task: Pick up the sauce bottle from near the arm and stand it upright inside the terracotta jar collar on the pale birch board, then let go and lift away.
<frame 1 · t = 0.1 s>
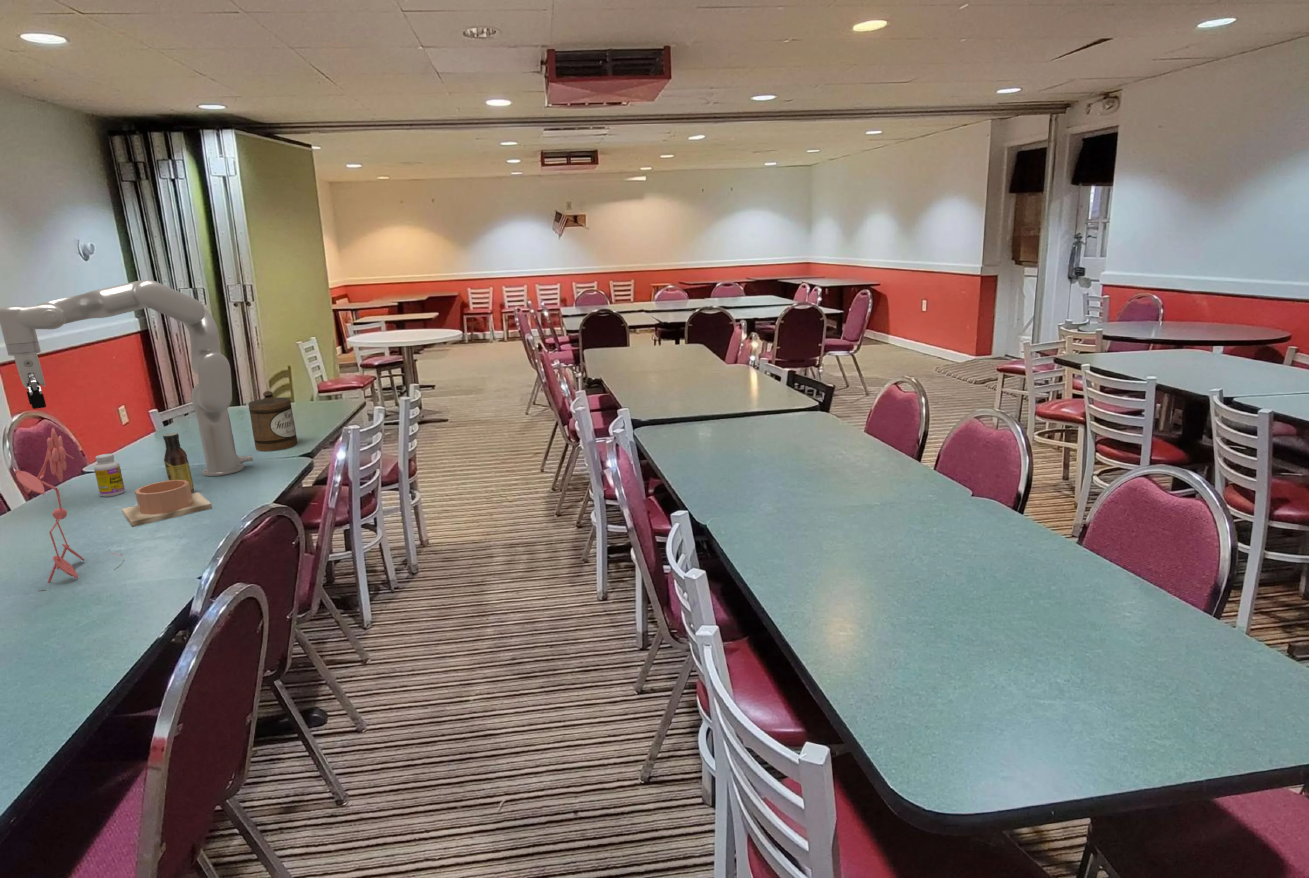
hand: (38, 405, 224), 31 cm above the table, tool pointing down, fingers open, 9 cm apart
birch board: (167, 510, 221), on the table
sauce bottle: (183, 494, 237), on the table
figurine: (87, 569, 181), on the table
supplement bottle: (113, 494, 240), on the table
jar collar: (164, 496, 220), on the birch board, point 4 cm above the table
wooden container: (277, 447, 292), on the table
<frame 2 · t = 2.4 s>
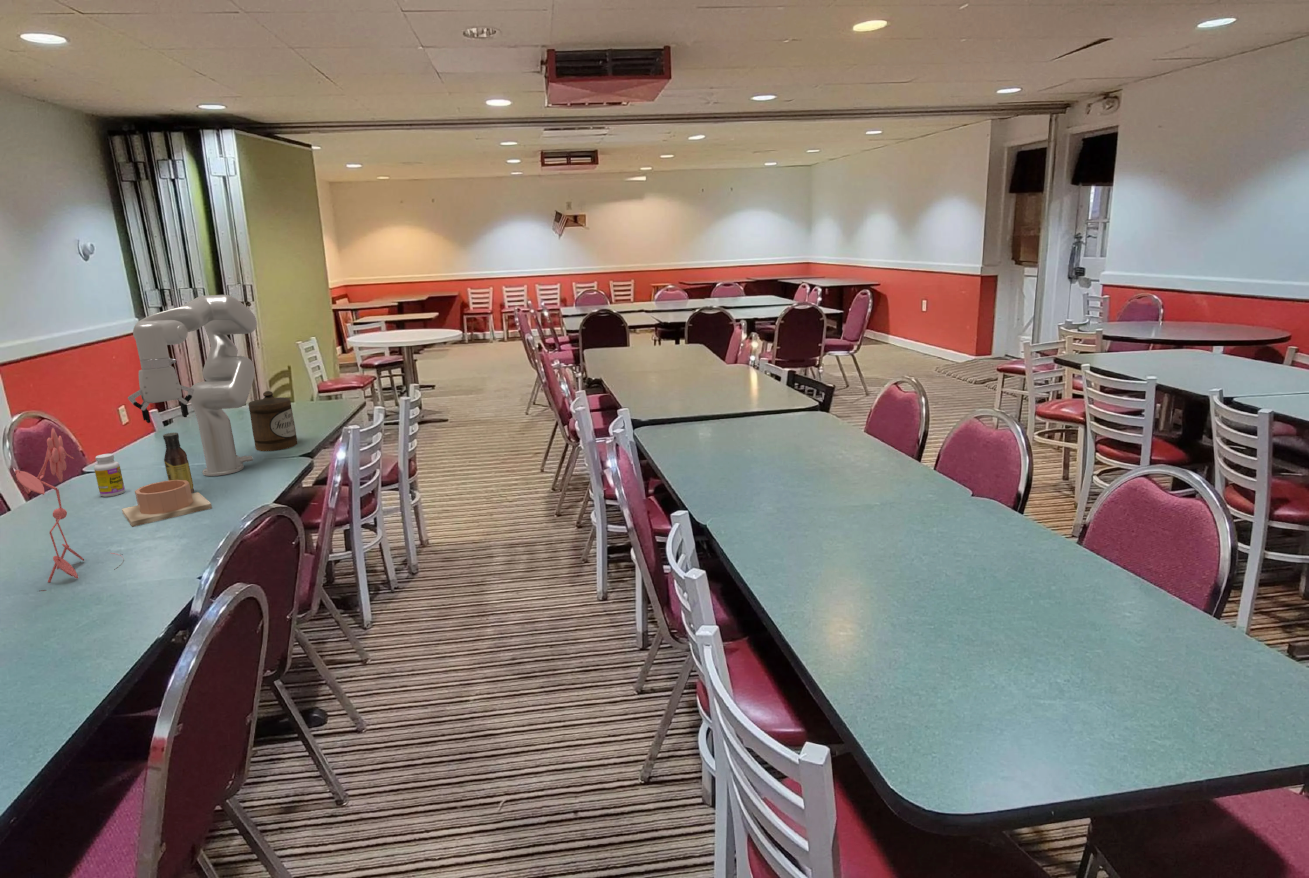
hand: (166, 419, 230), 24 cm above the table, tool pointing down, fingers open, 9 cm apart
nothing on the table moved.
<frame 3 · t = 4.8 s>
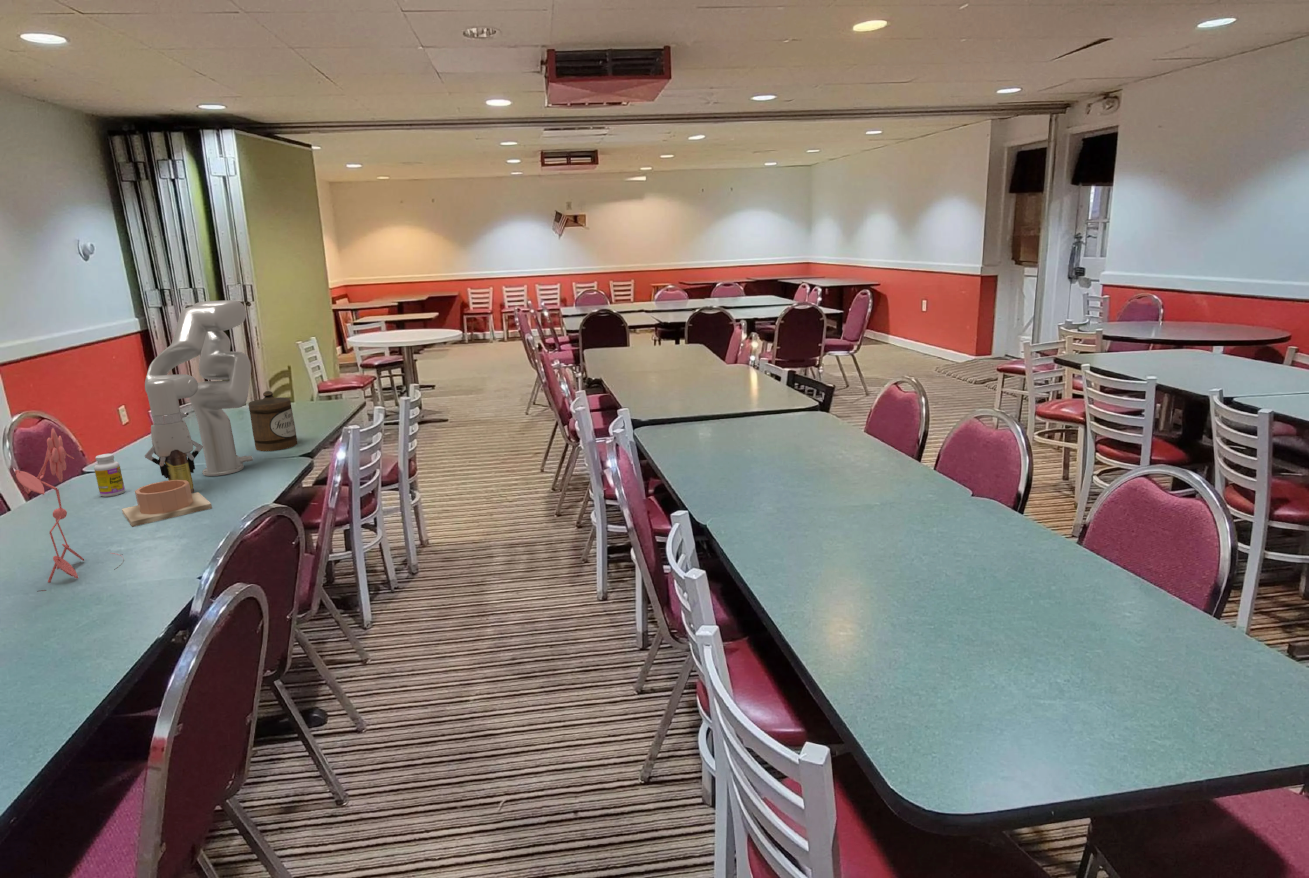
hand: (179, 474, 235), 7 cm above the table, tool pointing down, fingers closed on sauce bottle, 6 cm apart
sauce bottle: (183, 494, 237), on the table, touching gripper
everything else where it was.
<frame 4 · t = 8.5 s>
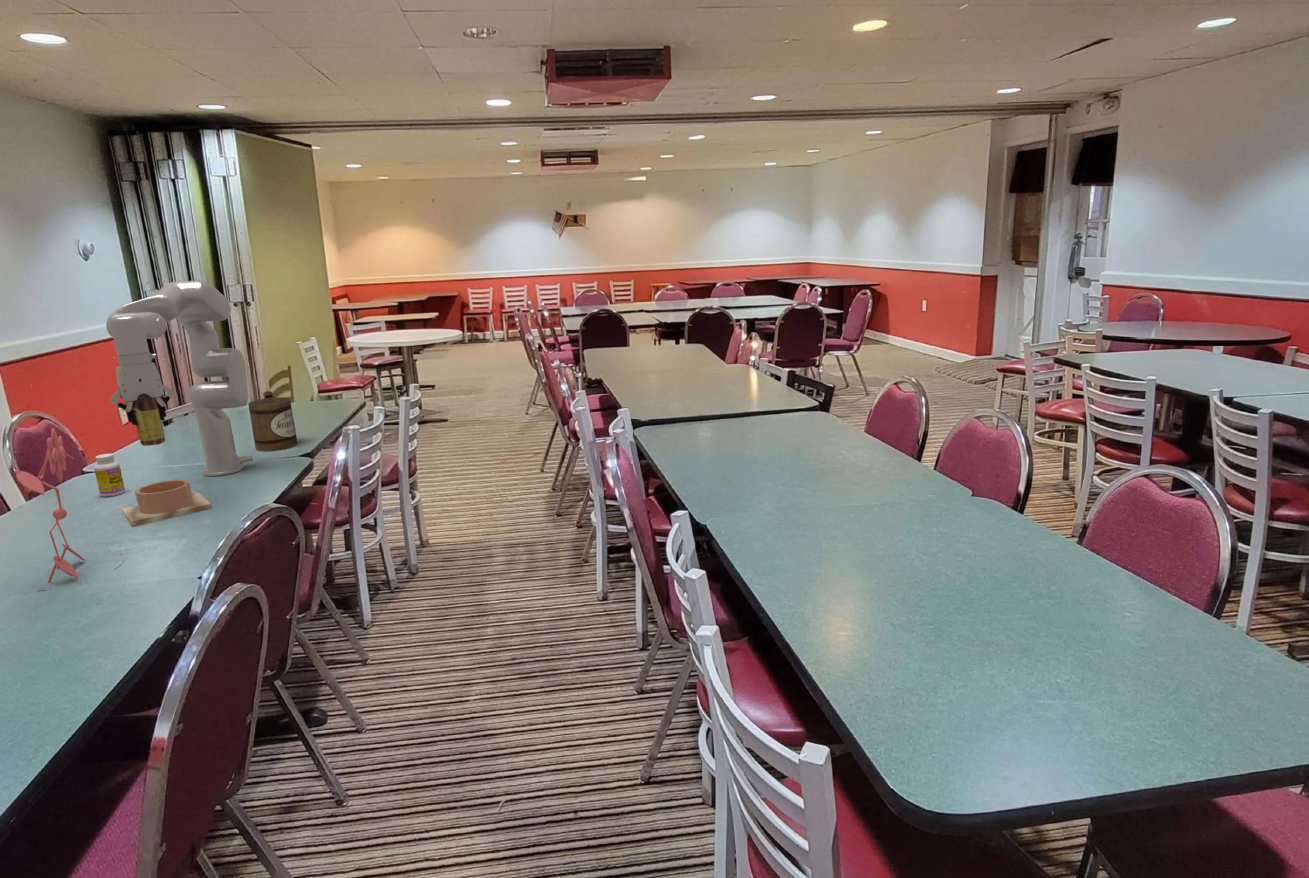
hand: (148, 421, 215), 27 cm above the table, tool pointing down, fingers closed on sauce bottle, 6 cm apart
sauce bottle: (153, 444, 216), point 20 cm above the table, touching gripper
everything else where it was.
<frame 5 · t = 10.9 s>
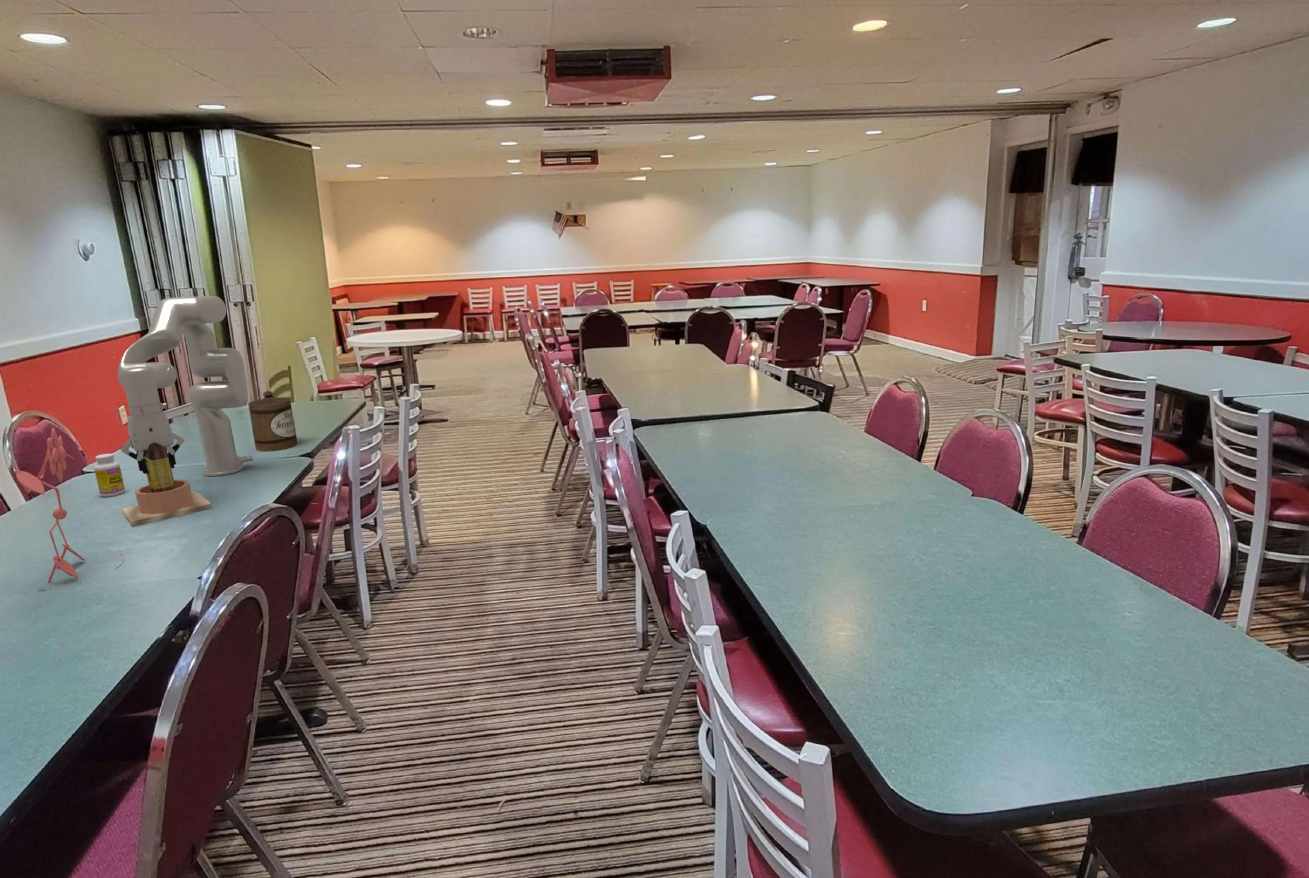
hand: (158, 469, 218), 13 cm above the table, tool pointing down, fingers closed on sauce bottle, 6 cm apart
sauce bottle: (163, 491, 220), point 6 cm above the table, touching gripper
everything else where it was.
when the fingers open (10 cm above the table, at t = 12.5 s): sauce bottle drops 2 cm, resting on birch board.
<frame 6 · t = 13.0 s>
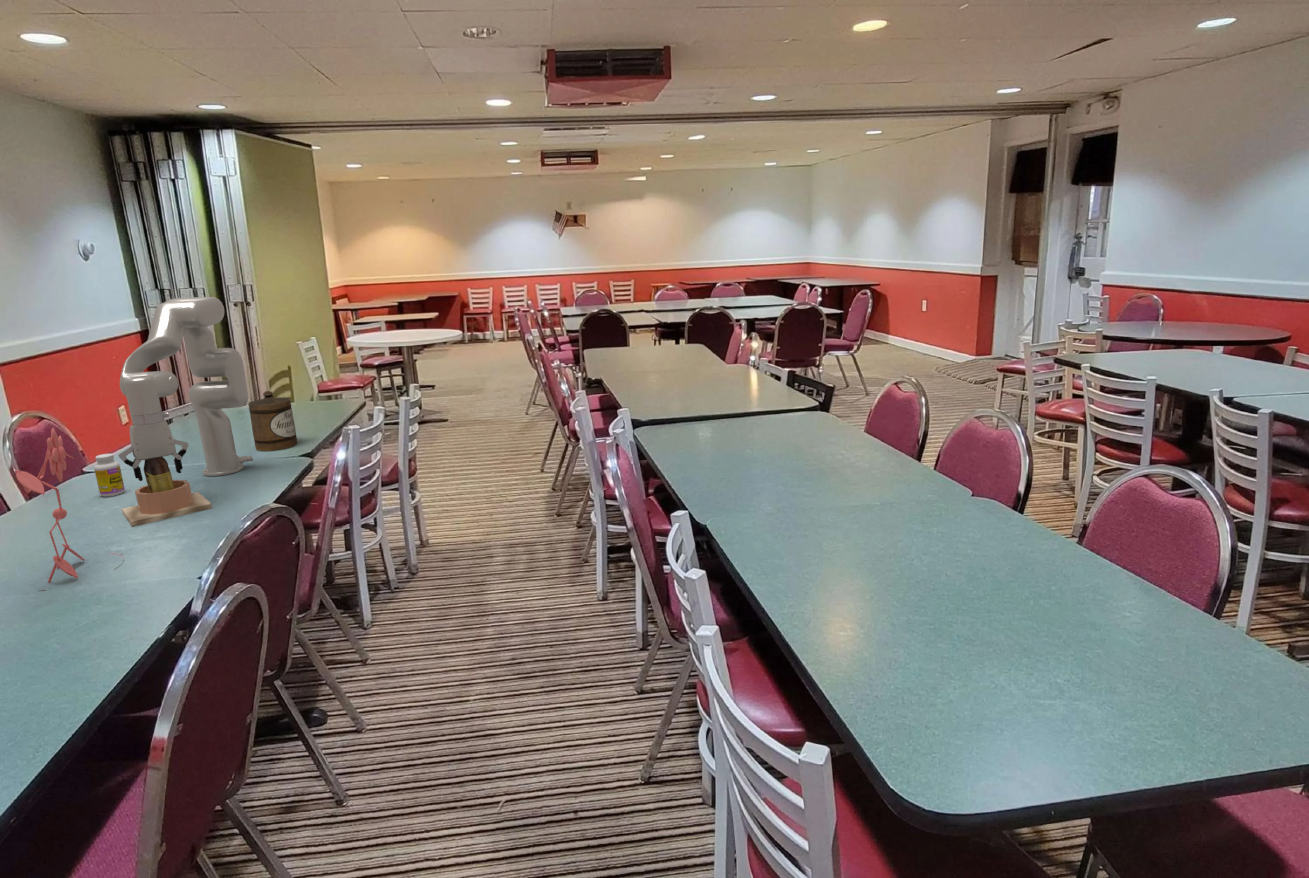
hand: (160, 476, 219), 11 cm above the table, tool pointing down, fingers open, 9 cm apart
sauce bottle: (166, 506, 221), point 1 cm above the table, touching birch board
everything else where it was.
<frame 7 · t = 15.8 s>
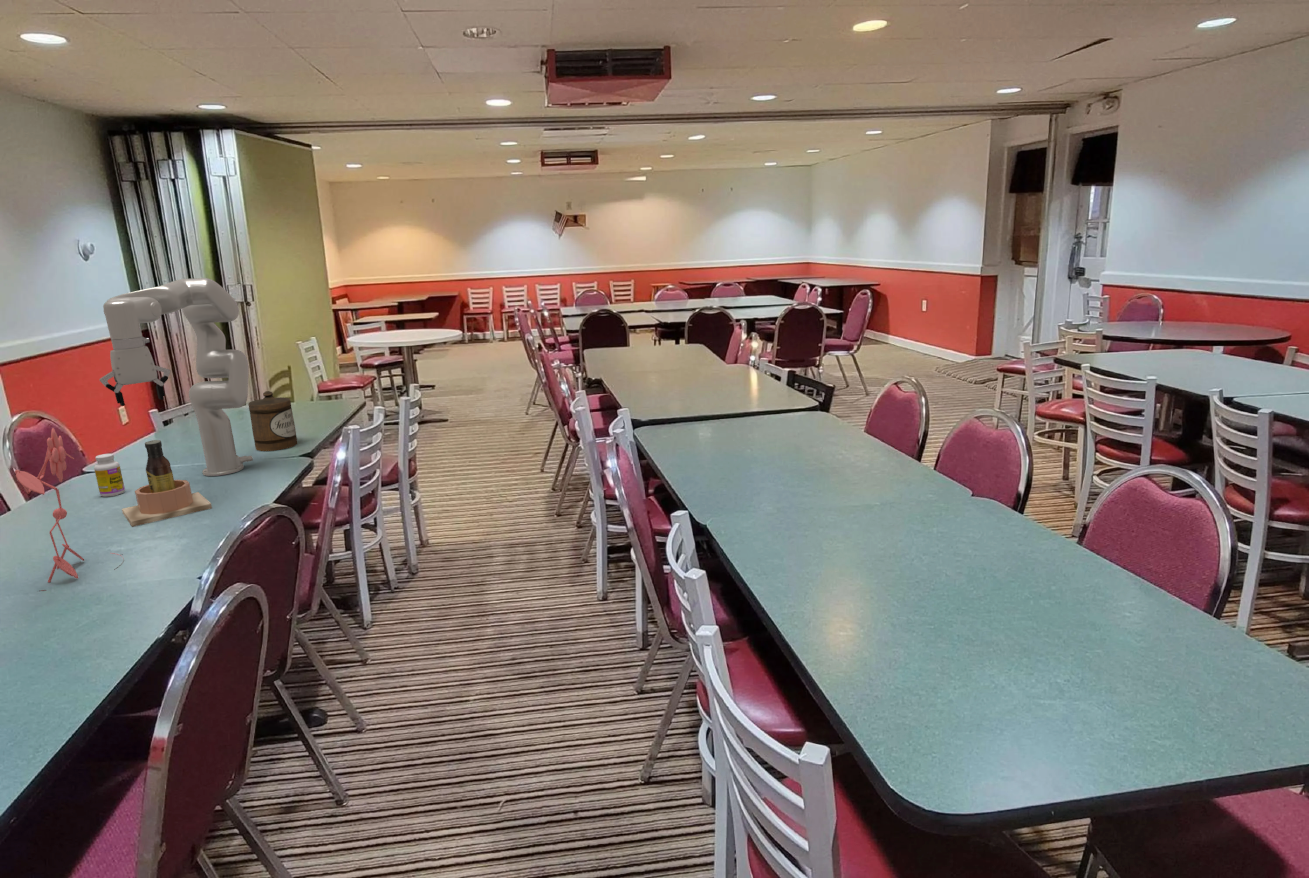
hand: (142, 402, 219), 32 cm above the table, tool pointing down, fingers open, 9 cm apart
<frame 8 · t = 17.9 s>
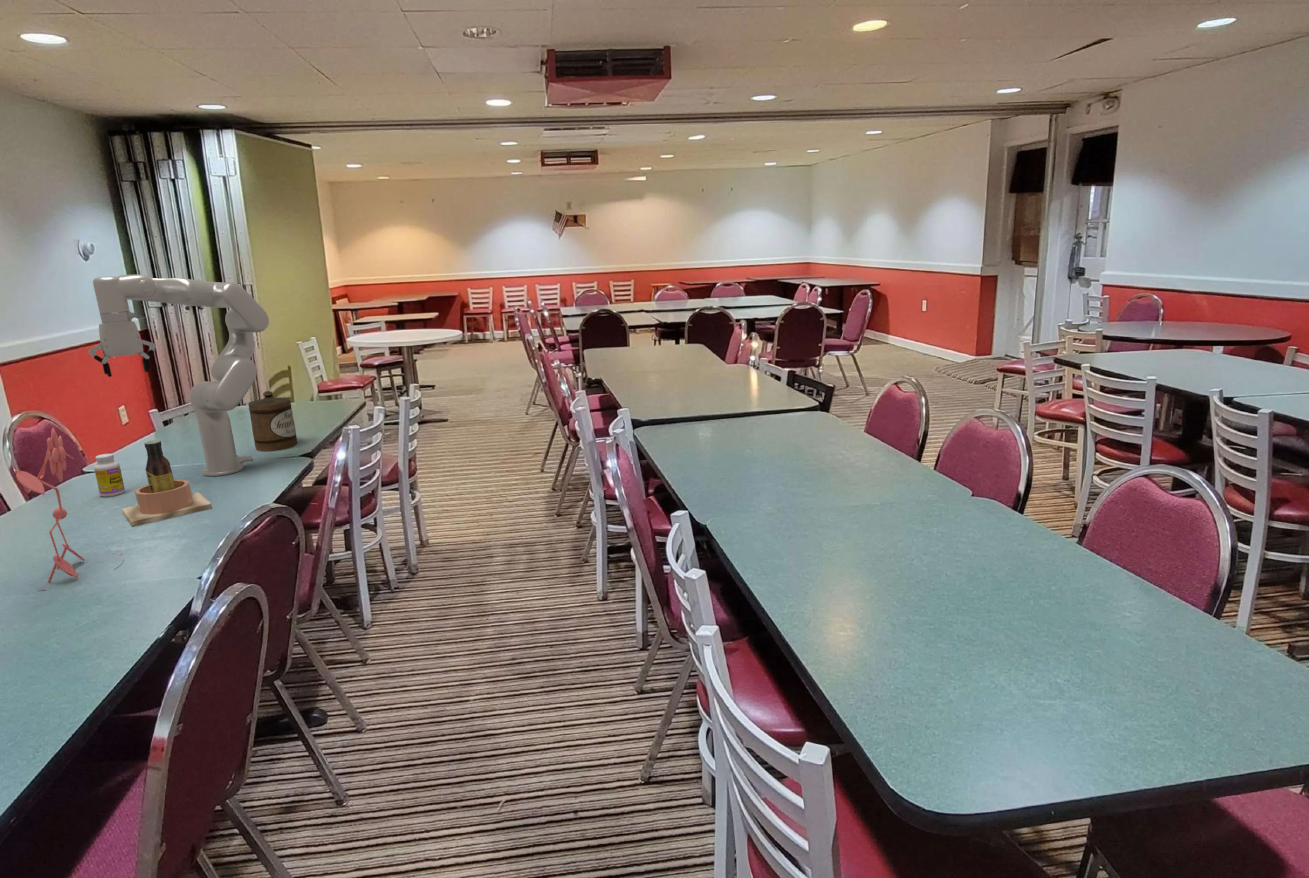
hand: (128, 374, 231), 38 cm above the table, tool pointing down, fingers open, 9 cm apart
nothing on the table moved.
at the end: sauce bottle 0.2 cm off-centre on the jar collar, point 1.3 cm above the jar collar's base; sauce bottle tilted 0°; the gripper is holding nothing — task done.
